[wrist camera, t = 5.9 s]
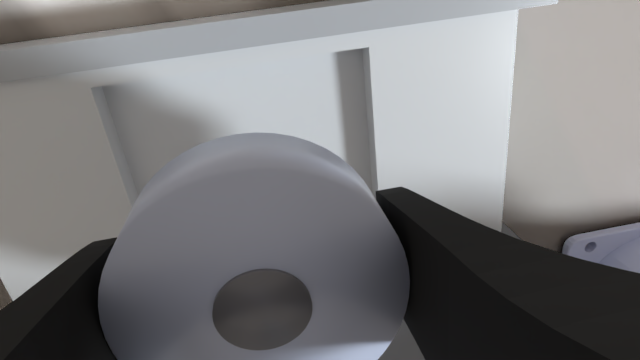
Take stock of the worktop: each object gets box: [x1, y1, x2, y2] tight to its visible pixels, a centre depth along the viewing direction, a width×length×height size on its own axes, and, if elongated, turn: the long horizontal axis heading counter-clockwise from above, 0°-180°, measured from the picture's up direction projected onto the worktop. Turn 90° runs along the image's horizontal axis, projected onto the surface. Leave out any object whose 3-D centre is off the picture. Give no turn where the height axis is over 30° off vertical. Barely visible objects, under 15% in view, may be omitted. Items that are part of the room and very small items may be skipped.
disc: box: [98, 132, 410, 360], centre depth 9 cm, size 6×6×2 cm
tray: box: [0, 0, 558, 301], centre depth 14 cm, size 18×11×2 cm, turn 96°
